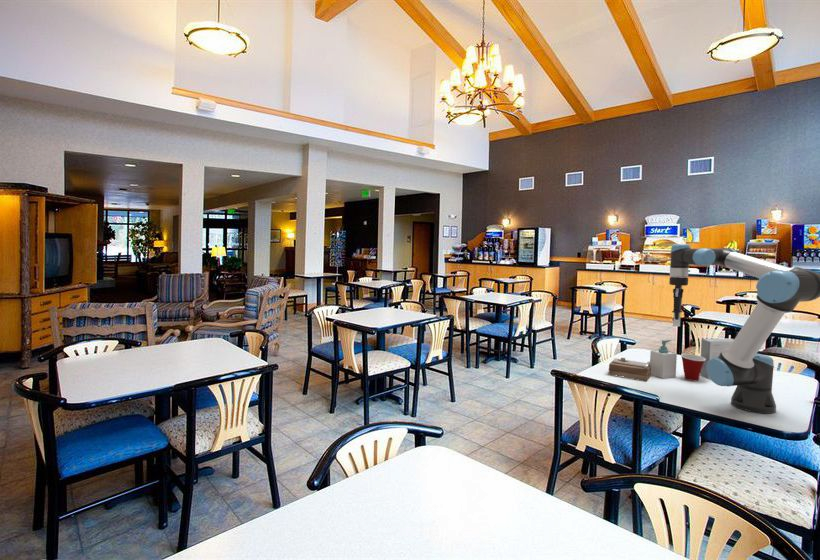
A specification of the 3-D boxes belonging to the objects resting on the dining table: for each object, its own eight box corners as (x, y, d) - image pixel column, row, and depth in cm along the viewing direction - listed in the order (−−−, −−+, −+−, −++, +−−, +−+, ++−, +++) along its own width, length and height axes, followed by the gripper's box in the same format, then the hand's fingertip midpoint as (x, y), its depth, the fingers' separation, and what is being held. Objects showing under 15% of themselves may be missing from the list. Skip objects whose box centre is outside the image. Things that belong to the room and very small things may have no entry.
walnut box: (647, 381, 220) (647, 364, 219) (608, 374, 231) (609, 358, 230) (651, 375, 230) (651, 359, 229) (613, 369, 241) (614, 354, 240)
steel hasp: (647, 368, 222) (647, 365, 222) (612, 362, 232) (612, 360, 232) (649, 365, 227) (649, 363, 227) (615, 359, 237) (615, 357, 237)
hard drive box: (730, 375, 230) (732, 338, 228) (739, 380, 222) (742, 341, 221) (699, 374, 231) (701, 337, 230) (707, 379, 224) (709, 341, 222)
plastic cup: (700, 383, 216) (701, 360, 215) (676, 378, 225) (677, 355, 224) (707, 379, 223) (709, 356, 222) (684, 374, 231) (685, 352, 230)
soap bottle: (676, 377, 227) (677, 341, 226) (662, 378, 225) (664, 342, 223) (662, 372, 235) (664, 337, 234) (649, 373, 233) (650, 338, 231)
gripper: (687, 278, 198) (684, 329, 200) (689, 276, 208) (687, 324, 210) (668, 277, 203) (665, 327, 204) (671, 275, 213) (669, 323, 215)
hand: (676, 325), depth 207 cm, fingers closed
